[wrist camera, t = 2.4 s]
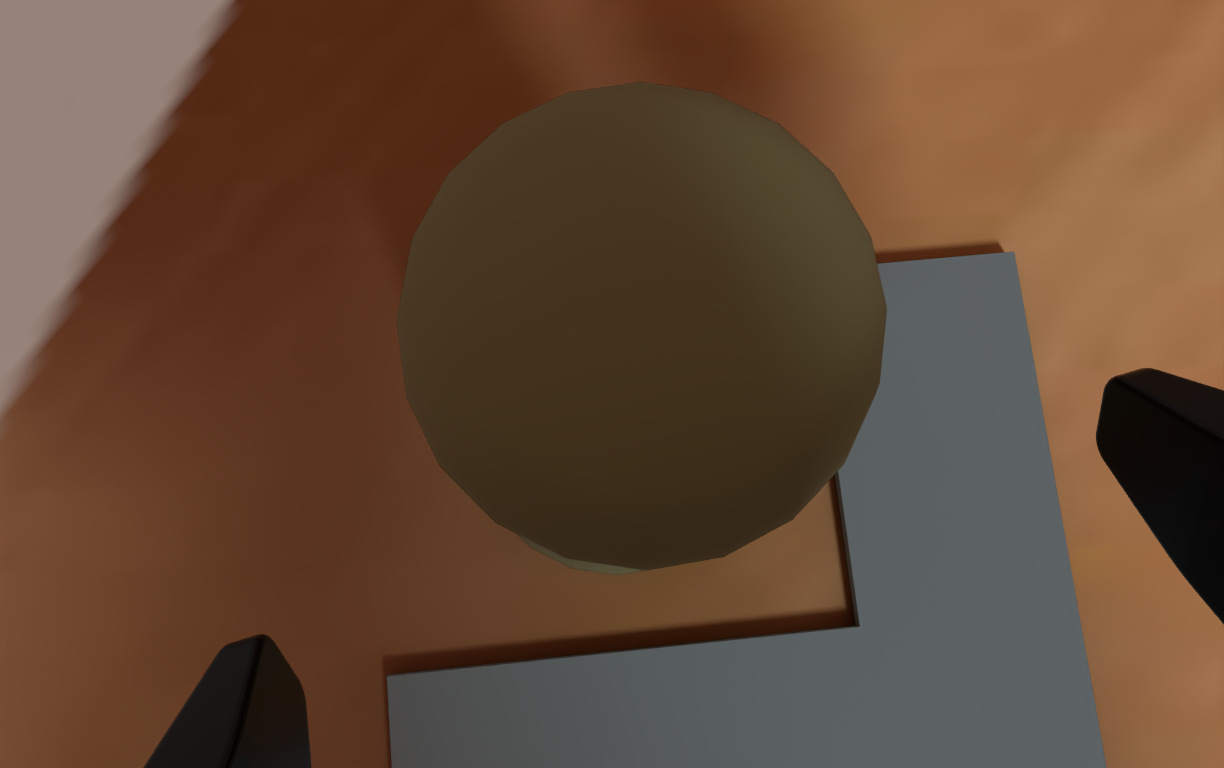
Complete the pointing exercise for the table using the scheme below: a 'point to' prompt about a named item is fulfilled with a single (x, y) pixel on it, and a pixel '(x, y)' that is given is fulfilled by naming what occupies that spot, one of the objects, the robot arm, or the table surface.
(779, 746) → the label panel
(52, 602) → the table surface
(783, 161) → the olive green pawn
